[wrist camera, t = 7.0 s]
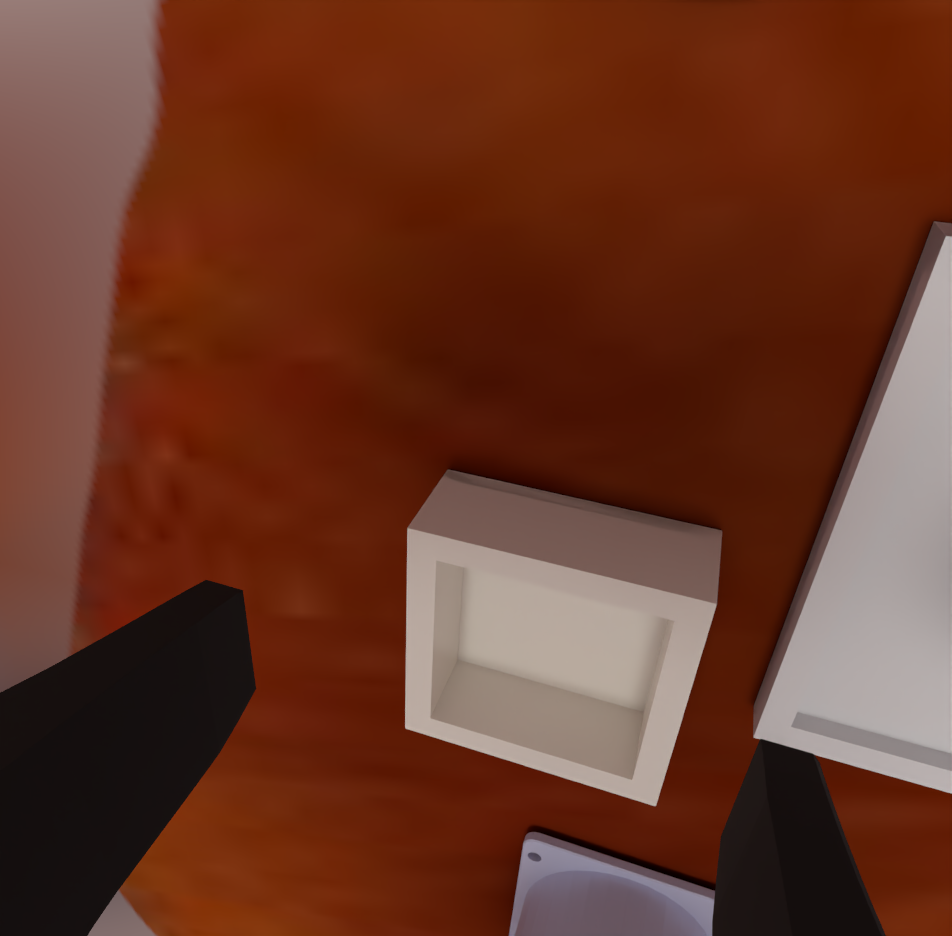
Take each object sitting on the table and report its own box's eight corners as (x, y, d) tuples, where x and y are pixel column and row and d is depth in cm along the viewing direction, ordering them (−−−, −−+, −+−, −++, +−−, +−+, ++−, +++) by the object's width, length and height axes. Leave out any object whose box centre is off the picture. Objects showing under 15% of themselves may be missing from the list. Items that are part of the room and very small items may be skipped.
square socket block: (666, 724, 24) (655, 806, 21) (439, 659, 26) (405, 728, 23) (722, 530, 20) (717, 603, 17) (447, 469, 21) (407, 528, 19)
